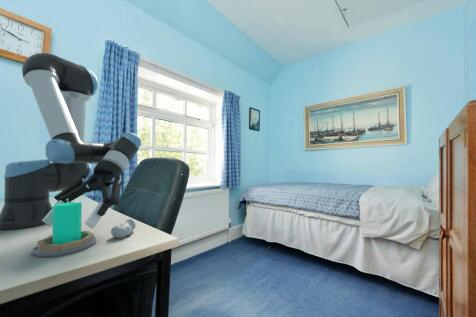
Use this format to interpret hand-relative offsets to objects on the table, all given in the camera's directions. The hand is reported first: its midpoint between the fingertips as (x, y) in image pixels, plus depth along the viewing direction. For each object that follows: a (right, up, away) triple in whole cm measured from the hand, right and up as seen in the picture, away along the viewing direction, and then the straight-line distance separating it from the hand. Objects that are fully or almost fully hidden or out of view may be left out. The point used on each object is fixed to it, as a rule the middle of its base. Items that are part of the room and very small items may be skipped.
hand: (67, 224), depth 56 cm
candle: (0, -5, 0) cm, 5 cm away
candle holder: (0, -6, 0) cm, 6 cm away
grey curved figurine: (+11, -6, +9) cm, 15 cm away
